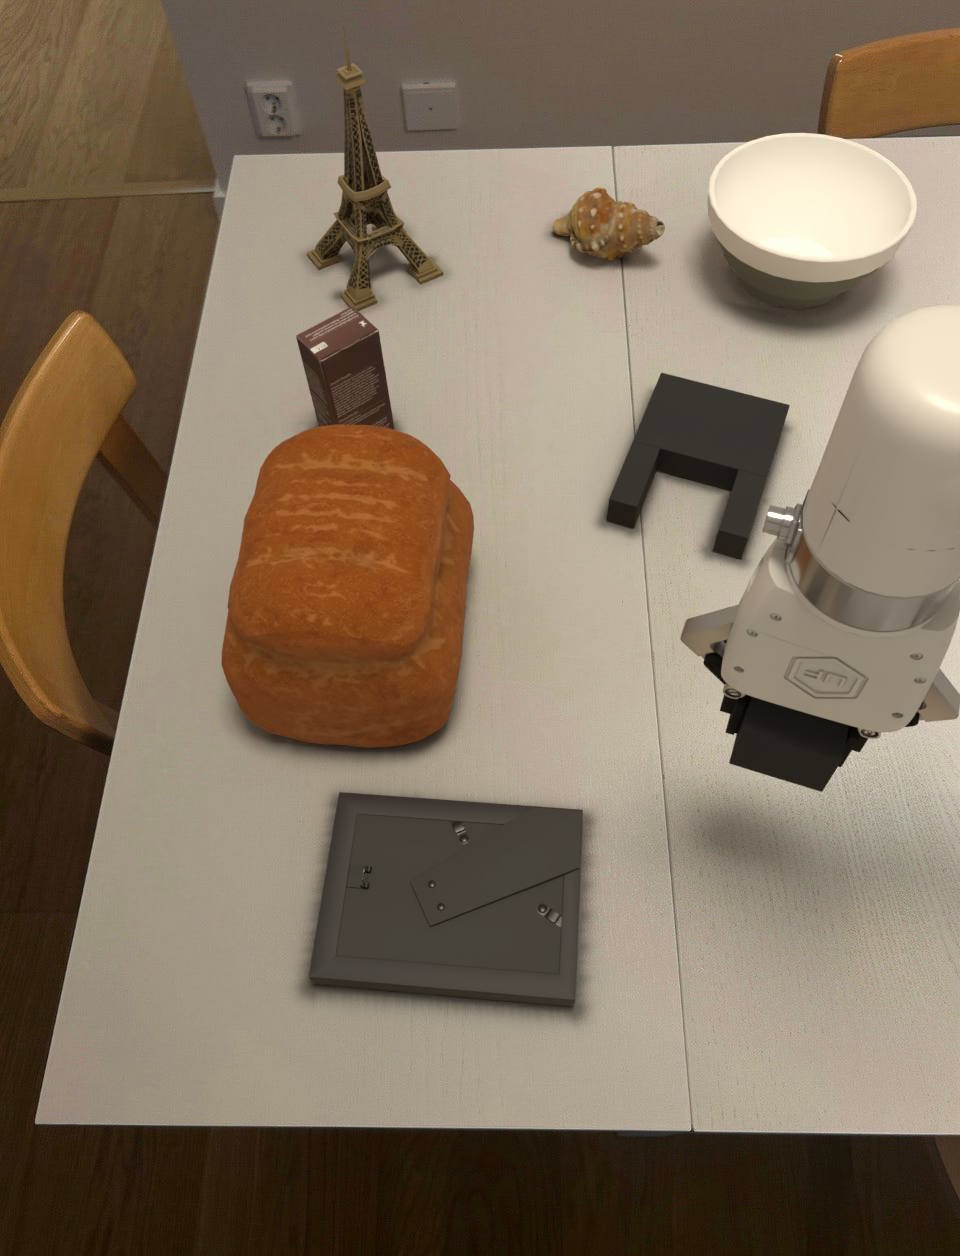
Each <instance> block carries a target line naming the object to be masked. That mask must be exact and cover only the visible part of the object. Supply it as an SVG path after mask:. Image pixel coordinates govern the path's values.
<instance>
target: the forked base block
mask: <svg viewBox="0 0 960 1256" xmlns="http://www.w3.org/2000/svg"><path fill="white" fill-rule="evenodd" d="M790 406H791V405H790V404H787V403H784V402H780V401H775V400H771V399H768V398H764V397H759V396H756V395H752V394H748V393H744V392H741V391H736V390H732V389H729V388H724V387H722V386H721V387H720V386H716V385H713V384H708V383H704V382H700V381H696V380H693V379H689V378H685V377H680V376H678V375H677V376H676V375H674V374H673V375H672V374H668V373H664V372H661V373H660V374H659V377H658V379H657V381H656V384H655V386H654V389H653V391H652V394H651V396H650V399H649V401H648V403H647V406H646V408H645V411H644V413H643V415H642V417H641V418H642V419H641V420H640V423H639V424H638V428H637V430H636V432H635V435H634V437H633V440H632V441H631V445H630V447H629V449H628V451H627V454H626V457H625V460H624V462H623V464H622V467H621V469H620V471H619V474H618V476H617V478H616V482H615V484H614V486H613V488H612V491H611V494H610V496H609V498H608V505H607V512H606V521H607V522H609V523H614V524H617V525H620V526H623V527H628V528H630V529H634V528H635V527H636V524H637V521H638V519H639V516H640V514H641V510H642V508H643V506H644V503H645V501H646V498H647V495H648V493H649V490H650V488H651V485H652V483H653V480H654V477H655V475H656V473H657V471H658V472H661V473H665V474H669V475H672V476H676V477H679V478H682V479H683V478H684V479H687V480H689V481H694V482H698V483H701V484H705V485H710V486H712V487H717V488H719V489H723V490H727V491H730V493H729V498H728V500H727V502H726V506H725V509H724V512H723V515H722V517H721V521H720V524H719V527H718V529H717V534H716V537H715V541H714V544H713V548H712V552H714V553H715V552H716V553H719V554H721V555H725V556H729V557H732V558H736V559H738V560H739V559H740V560H742V558H743V555H744V553H745V549H746V547H747V542H748V540H749V537H750V533H751V531H752V527H753V524H754V520H755V517H756V514H757V511H758V509H759V508H758V507H759V505H760V501H761V499H762V495H763V492H764V489H765V486H766V483H767V479H768V477H769V473H770V471H771V466H772V463H773V461H774V458H775V454H776V452H777V447H778V445H779V441H780V439H781V435H782V432H783V428H784V426H785V423H786V419H787V416H788V413H789V410H790Z"/></svg>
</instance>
